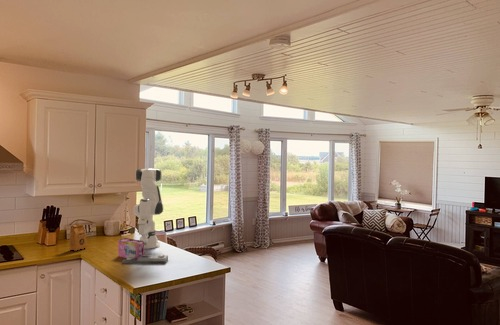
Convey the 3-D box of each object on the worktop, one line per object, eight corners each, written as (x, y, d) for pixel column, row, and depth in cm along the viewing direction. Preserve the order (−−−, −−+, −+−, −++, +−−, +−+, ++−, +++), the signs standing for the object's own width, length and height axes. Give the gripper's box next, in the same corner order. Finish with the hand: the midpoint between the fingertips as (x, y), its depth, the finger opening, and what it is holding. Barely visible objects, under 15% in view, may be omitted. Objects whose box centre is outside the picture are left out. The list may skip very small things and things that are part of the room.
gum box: (145, 258, 287) (145, 241, 287) (137, 260, 280) (137, 243, 280) (126, 254, 300) (126, 237, 300) (118, 256, 293) (117, 239, 293)
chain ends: (126, 260, 281) (126, 253, 281) (168, 260, 281) (168, 253, 281) (122, 263, 272) (122, 256, 272) (165, 263, 272) (165, 256, 272)
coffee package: (88, 248, 319) (88, 223, 319) (75, 252, 308) (75, 225, 308) (80, 247, 324) (80, 222, 324) (67, 250, 313) (67, 224, 313)
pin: (143, 244, 278) (143, 230, 278) (148, 244, 278) (148, 230, 278) (142, 245, 274) (142, 231, 274) (147, 245, 274) (147, 231, 274)
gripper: (145, 218, 287) (145, 235, 287) (136, 222, 266) (136, 241, 266) (153, 218, 287) (153, 235, 287) (145, 222, 266) (145, 241, 266)
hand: (145, 238), depth 276 cm, fingers closed on pin, 3 cm apart
